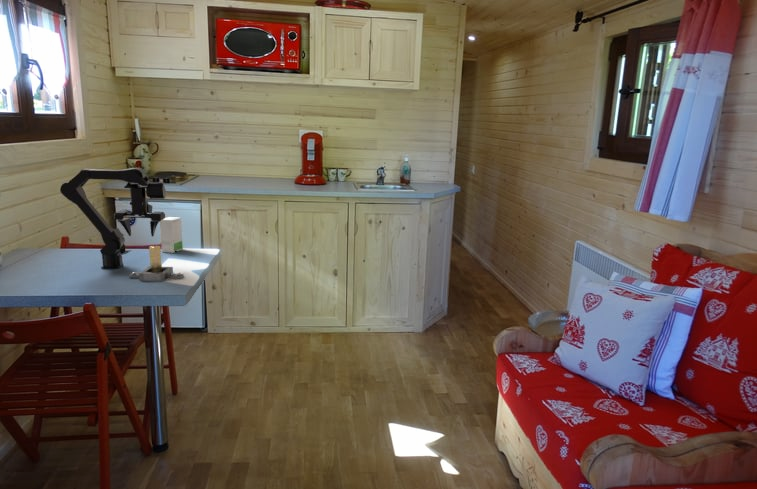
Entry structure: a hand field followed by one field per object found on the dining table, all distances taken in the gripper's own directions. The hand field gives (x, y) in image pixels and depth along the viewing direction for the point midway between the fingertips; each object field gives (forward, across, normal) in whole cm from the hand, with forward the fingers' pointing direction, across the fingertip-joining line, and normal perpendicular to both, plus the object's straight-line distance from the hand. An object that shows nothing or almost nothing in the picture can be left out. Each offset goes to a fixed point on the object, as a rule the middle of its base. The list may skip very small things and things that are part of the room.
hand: (141, 236), depth 213 cm
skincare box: (+13, -3, -26) cm, 29 cm away
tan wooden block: (+13, -11, +15) cm, 23 cm away
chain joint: (+13, -11, +15) cm, 23 cm away
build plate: (+14, +19, -21) cm, 31 cm away
